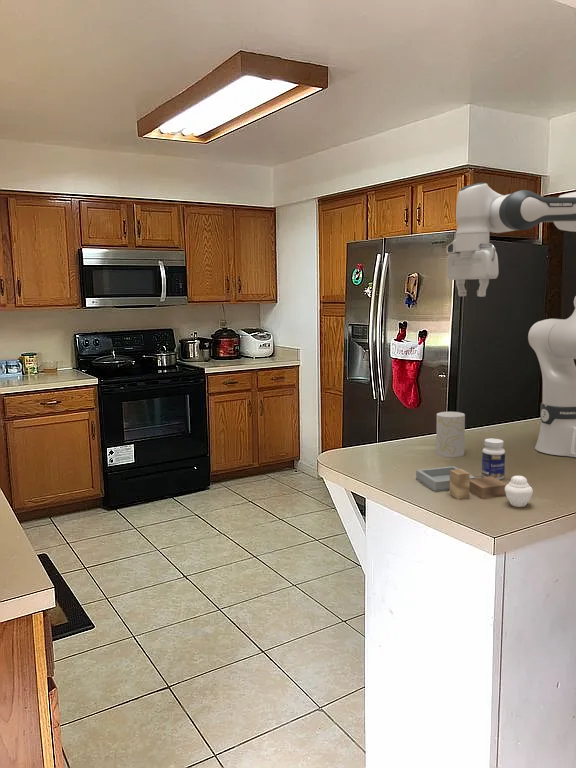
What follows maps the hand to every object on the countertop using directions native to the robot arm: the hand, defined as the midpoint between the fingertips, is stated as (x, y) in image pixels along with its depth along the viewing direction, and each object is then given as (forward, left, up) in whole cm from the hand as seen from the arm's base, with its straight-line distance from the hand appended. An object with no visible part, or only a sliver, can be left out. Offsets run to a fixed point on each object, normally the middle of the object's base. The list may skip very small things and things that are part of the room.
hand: (471, 296), depth 178 cm
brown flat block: (+10, +27, -47) cm, 55 cm away
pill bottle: (+2, +16, -47) cm, 50 cm away
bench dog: (+18, +27, -47) cm, 57 cm away
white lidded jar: (+8, +36, -47) cm, 60 cm away
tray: (+16, +17, -47) cm, 52 cm away
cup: (+1, -9, -47) cm, 48 cm away
